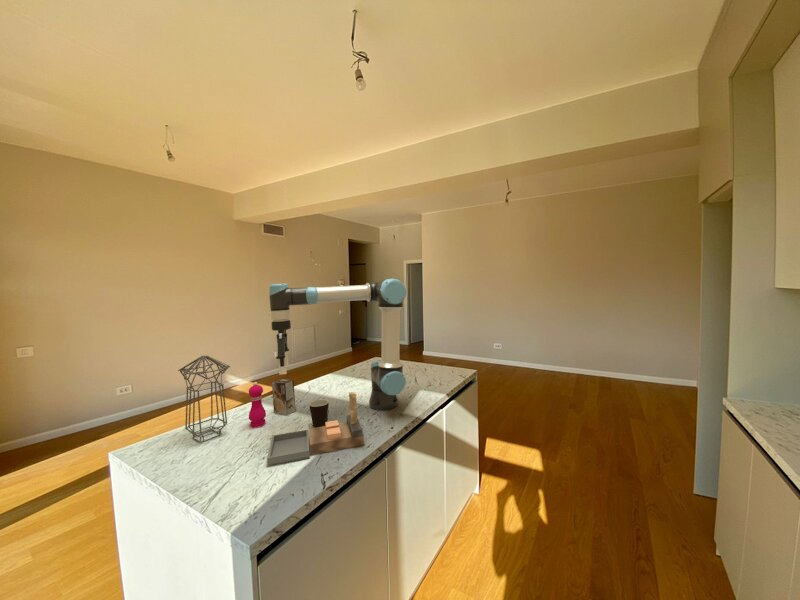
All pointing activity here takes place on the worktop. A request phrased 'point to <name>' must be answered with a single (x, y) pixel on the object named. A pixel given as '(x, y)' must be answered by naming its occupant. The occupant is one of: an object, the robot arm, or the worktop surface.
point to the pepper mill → (256, 406)
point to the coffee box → (283, 396)
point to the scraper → (353, 417)
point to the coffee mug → (319, 412)
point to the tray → (288, 447)
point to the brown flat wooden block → (332, 440)
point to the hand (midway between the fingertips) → (284, 370)
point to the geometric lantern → (202, 390)
